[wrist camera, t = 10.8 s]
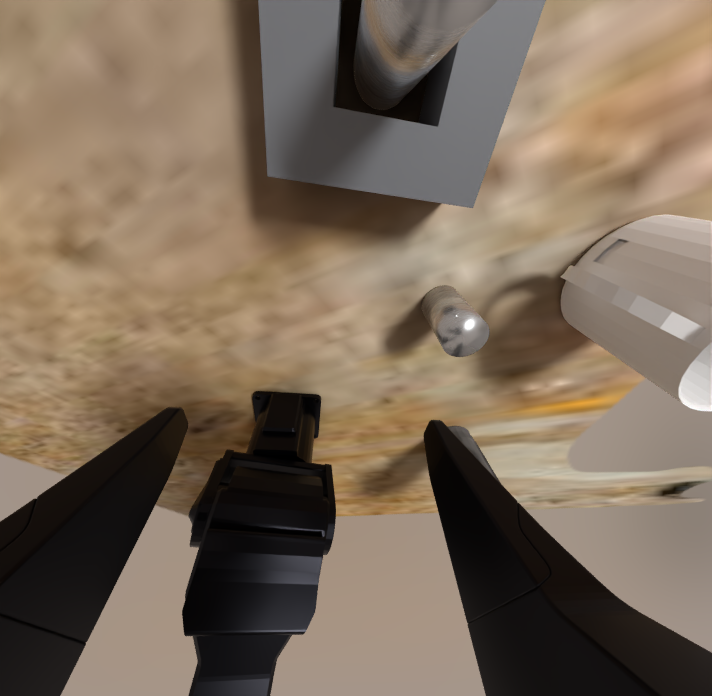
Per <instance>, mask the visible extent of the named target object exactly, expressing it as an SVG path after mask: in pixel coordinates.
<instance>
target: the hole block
mask: <svg viewBox="0 0 712 696" xmlns="http://www.w3.org/2000/svg"><path fill="white" fill-rule="evenodd" d="M545 1H546V0H497V1H496V3H495V4H494V5H493V6H492V7H491V8H490V9H489V10H488V11H487V12H486V13H485V14H484V15H483V16H482V17H481V18H480V19H479V20H478V21H477V23H476V24H475V25H474V26H473V27H472V28H471V29H470V30H469V31H468V32H467V33H466V34H465V35H464V36H463V37H462V38H461V39H460V40H459V41H458V42H457V43H456V44H455V45H454V46H453V47H452V48H451V49H450V51H449V52H448V53H447V54H446V55H445V56H444V57H443V58H442V59H441V60H440V61H439V62H438V63H437V64H436V65H435V66H434V67H433V68H432V69H431V70H430V71H429V73H428V78H427V83H426V88H425V93H424V98H423V102H422V107H421V112H420V117H419V122H418V123H415V122H410V121H405V120H399V119H394V118H389V117H384V116H378V115H373V114H368V113H363V112H358V111H352V110H347V109H342V108H337V107H335V105H336V90H337V75H338V60H339V45H340V29H341V14H342V0H258V4H259V23H260V43H261V62H262V81H263V100H264V119H265V138H266V158H267V176H268V177H275V178H281V179H288V180H294V181H301V182H307V183H313V184H320V185H326V186H333V187H339V188H346V189H352V190H359V191H365V192H372V193H378V194H385V195H391V196H398V197H404V198H411V199H417V200H423V201H430V202H436V203H443V204H449V205H456V206H462V207H469V208H473V206H474V203H475V200H476V198H477V195H478V192H479V189H480V186H481V183H482V181H483V178H484V175H485V172H486V169H487V166H488V163H489V161H490V158H491V155H492V152H493V149H494V146H495V143H496V141H497V138H498V135H499V132H500V129H501V126H502V124H503V121H504V118H505V115H506V112H507V109H508V106H509V104H510V101H511V98H512V95H513V92H514V89H515V86H516V84H517V81H518V78H519V75H520V72H521V69H522V66H523V64H524V61H525V58H526V55H527V52H528V49H529V47H530V44H531V41H532V38H533V35H534V32H535V29H536V27H537V24H538V21H539V18H540V15H541V12H542V9H543V7H544V4H545Z"/></svg>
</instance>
